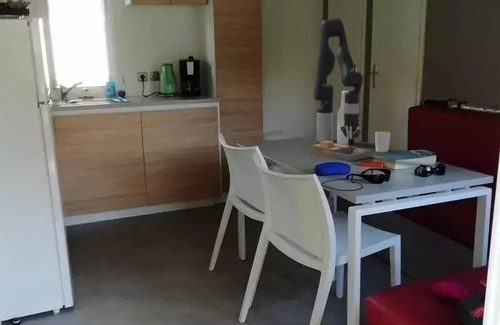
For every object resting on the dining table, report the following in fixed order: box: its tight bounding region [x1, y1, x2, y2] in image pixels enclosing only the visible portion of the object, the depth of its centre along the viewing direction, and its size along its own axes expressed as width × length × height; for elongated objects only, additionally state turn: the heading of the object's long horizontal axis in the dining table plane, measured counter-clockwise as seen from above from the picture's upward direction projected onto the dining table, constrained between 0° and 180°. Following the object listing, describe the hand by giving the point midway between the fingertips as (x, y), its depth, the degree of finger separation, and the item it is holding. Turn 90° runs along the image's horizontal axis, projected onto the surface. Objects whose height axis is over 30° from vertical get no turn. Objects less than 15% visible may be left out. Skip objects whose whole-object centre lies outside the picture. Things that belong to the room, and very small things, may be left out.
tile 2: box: [353, 148, 368, 154], centre depth 263 cm, size 5×5×2 cm
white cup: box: [374, 130, 391, 153], centre depth 272 cm, size 8×8×10 cm
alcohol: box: [336, 90, 349, 145], centre depth 293 cm, size 9×9×30 cm
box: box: [331, 146, 372, 162], centre depth 262 cm, size 16×12×3 cm
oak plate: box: [310, 142, 353, 158], centre depth 272 cm, size 14×16×4 cm
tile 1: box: [319, 141, 335, 148], centre depth 270 cm, size 5×5×2 cm
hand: (351, 145), depth 265 cm, fingers closed
